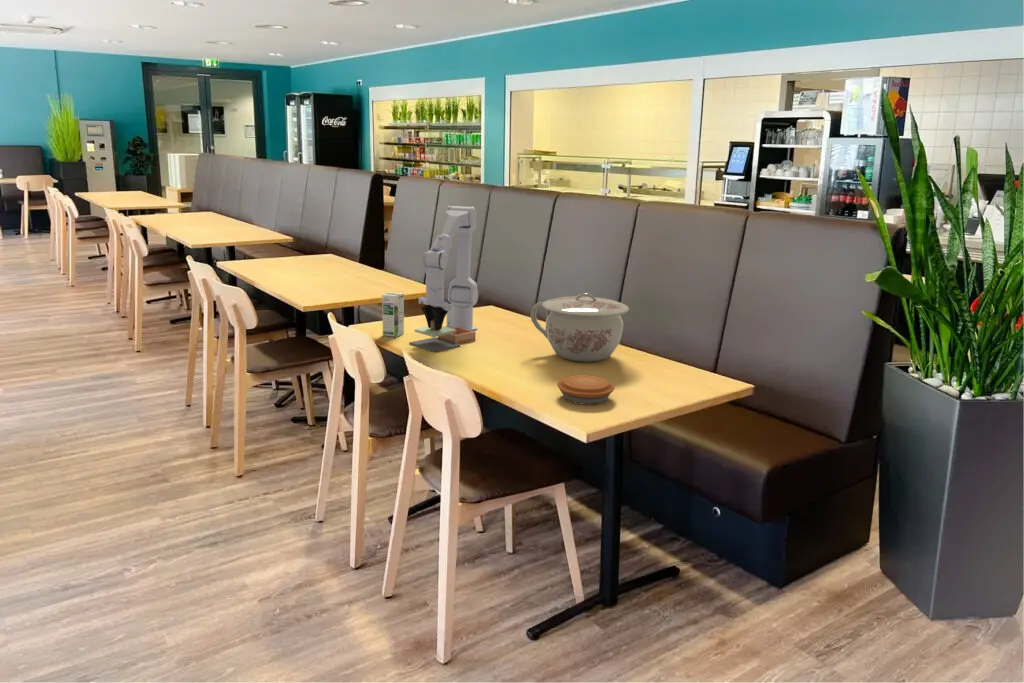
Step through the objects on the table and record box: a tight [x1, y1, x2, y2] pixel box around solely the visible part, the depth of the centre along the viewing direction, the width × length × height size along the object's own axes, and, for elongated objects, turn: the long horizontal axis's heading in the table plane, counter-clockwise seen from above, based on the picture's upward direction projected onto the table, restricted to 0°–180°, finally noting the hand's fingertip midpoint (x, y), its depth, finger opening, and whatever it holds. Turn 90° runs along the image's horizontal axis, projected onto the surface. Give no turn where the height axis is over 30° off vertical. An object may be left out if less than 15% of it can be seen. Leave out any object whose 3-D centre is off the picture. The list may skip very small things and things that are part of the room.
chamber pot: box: [530, 292, 630, 363], centre depth 246 cm, size 28×28×21 cm
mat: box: [408, 337, 461, 353], centre depth 257 cm, size 13×11×1 cm
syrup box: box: [381, 291, 405, 338], centre depth 267 cm, size 6×6×14 cm
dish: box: [437, 327, 476, 345], centre depth 264 cm, size 9×9×3 cm
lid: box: [414, 320, 456, 338], centre depth 255 cm, size 10×10×4 cm
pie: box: [556, 374, 615, 405], centre depth 209 cm, size 16×16×5 cm
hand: (434, 328), depth 255 cm, fingers closed on lid, 3 cm apart
